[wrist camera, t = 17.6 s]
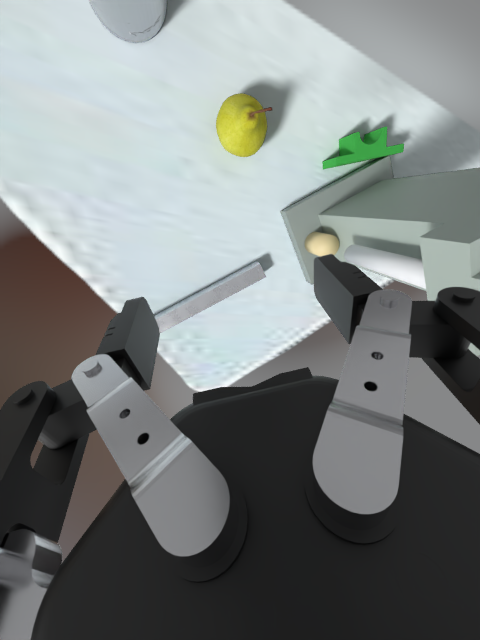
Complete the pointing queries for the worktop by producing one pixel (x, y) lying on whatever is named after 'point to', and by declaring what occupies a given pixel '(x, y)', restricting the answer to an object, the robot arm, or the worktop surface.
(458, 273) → the post
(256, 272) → the lever bar
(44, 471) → the robot arm
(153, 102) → the worktop surface
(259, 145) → the fruit
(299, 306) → the worktop surface
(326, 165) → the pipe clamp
